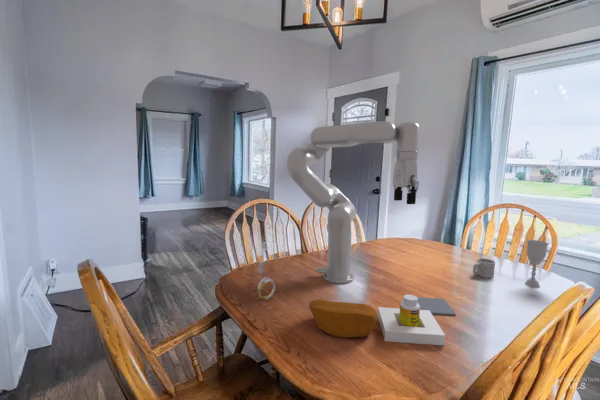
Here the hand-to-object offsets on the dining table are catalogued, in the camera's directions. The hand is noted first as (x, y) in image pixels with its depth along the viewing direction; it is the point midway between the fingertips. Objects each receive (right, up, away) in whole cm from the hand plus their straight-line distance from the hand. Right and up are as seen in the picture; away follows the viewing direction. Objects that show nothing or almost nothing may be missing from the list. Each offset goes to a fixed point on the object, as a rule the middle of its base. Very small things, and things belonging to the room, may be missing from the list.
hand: (404, 202), depth 118 cm
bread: (-27, -38, -24) cm, 53 cm away
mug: (+41, -33, +19) cm, 55 cm away
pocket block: (-7, -38, -25) cm, 46 cm away
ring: (-52, -35, -7) cm, 63 cm away
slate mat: (+6, -36, -11) cm, 38 cm away
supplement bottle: (-7, -38, -25) cm, 46 cm away
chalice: (+56, -34, +9) cm, 66 cm away
